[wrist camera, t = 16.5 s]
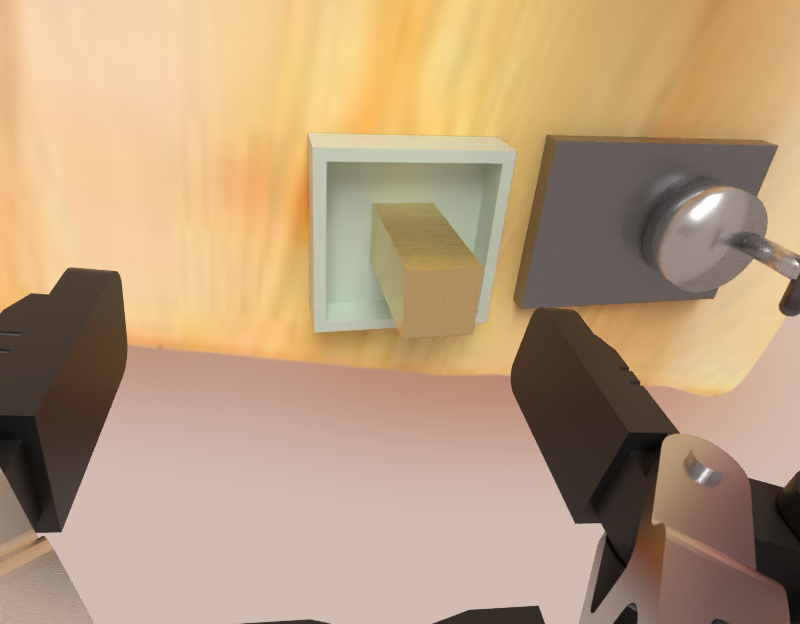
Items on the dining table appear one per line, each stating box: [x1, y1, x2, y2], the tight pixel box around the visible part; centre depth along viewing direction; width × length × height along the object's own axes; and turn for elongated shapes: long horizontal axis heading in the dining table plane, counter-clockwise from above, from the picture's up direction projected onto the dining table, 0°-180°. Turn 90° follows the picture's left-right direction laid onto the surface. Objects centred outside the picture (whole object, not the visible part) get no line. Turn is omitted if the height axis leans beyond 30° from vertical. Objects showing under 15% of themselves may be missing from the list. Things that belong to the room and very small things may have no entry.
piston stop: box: [370, 203, 484, 339], centre depth 34 cm, size 4×4×10 cm
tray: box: [308, 133, 517, 333], centre depth 37 cm, size 13×13×4 cm
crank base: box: [513, 135, 800, 316], centre depth 38 cm, size 13×18×10 cm
